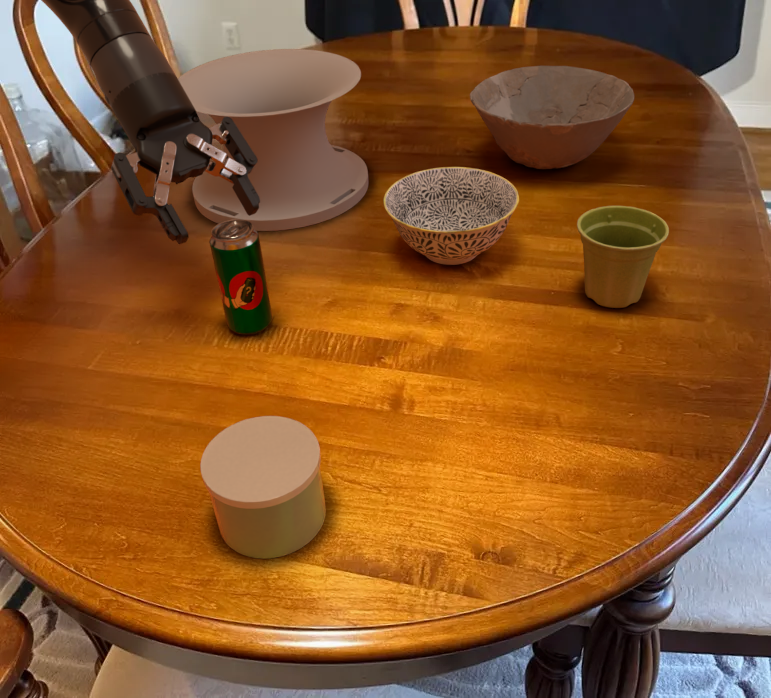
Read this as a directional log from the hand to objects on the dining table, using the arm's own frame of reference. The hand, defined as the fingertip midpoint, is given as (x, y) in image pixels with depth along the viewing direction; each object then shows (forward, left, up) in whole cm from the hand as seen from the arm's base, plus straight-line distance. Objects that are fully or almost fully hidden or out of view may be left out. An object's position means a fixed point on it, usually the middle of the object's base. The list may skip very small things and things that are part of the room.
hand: (220, 226), depth 84 cm
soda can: (+1, -2, -12) cm, 12 cm away
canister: (-1, -30, -11) cm, 32 cm away
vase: (+10, +30, -12) cm, 34 cm away
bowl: (+27, +5, -12) cm, 30 cm away
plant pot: (+41, -10, -12) cm, 44 cm away
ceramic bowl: (+49, +25, -12) cm, 56 cm away
